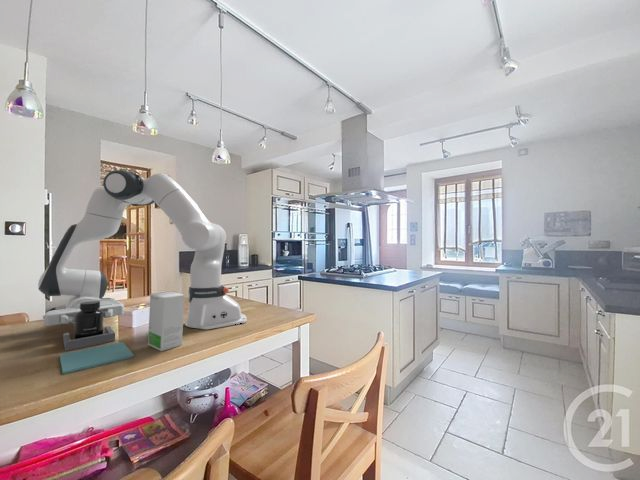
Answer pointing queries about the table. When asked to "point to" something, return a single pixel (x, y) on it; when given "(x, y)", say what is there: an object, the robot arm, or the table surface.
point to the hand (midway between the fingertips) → (89, 317)
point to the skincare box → (166, 320)
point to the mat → (94, 357)
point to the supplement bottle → (89, 320)
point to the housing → (88, 340)
